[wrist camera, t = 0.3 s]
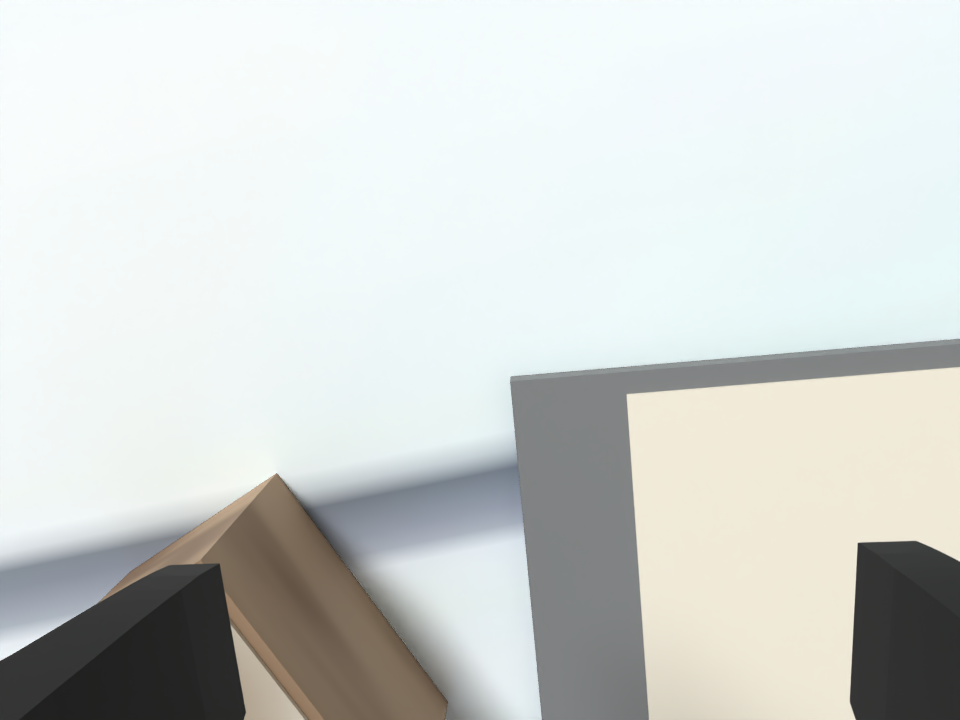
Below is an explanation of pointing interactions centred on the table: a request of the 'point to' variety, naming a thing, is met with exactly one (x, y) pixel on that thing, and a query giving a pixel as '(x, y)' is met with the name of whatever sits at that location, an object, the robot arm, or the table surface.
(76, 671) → the robot arm
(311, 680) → the brown rectangular block
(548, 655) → the mat
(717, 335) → the table surface
